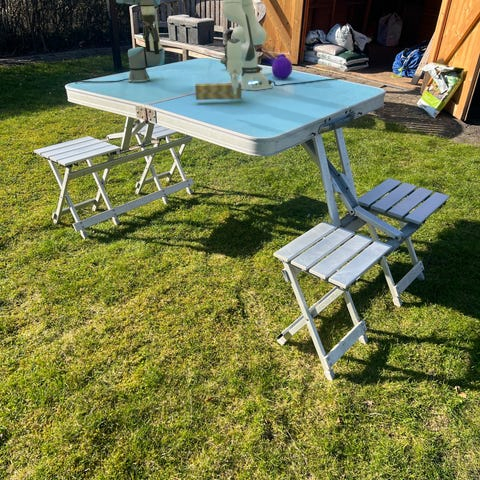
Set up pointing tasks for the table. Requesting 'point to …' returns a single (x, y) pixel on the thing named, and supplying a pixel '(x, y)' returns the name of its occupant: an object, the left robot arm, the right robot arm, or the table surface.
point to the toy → (280, 66)
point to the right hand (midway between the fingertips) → (234, 92)
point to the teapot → (224, 61)
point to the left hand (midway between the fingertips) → (152, 53)
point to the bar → (217, 91)
